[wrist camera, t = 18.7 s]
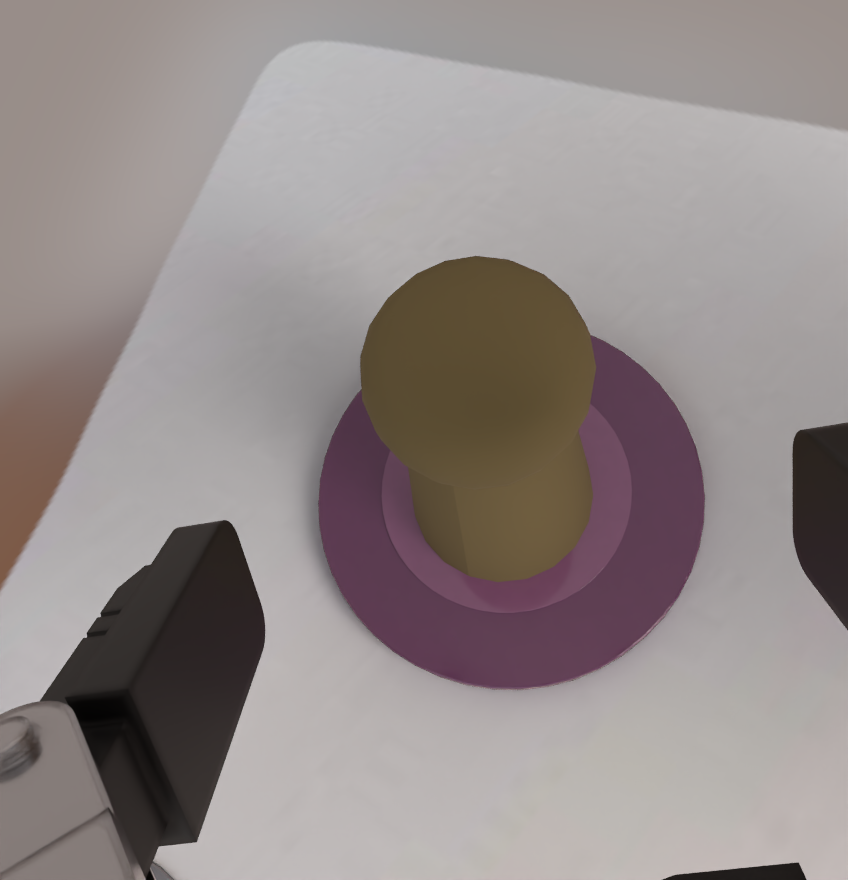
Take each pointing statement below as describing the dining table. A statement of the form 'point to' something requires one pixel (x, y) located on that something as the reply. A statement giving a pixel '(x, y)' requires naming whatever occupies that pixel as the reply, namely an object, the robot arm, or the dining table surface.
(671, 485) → the saucer
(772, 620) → the dining table surface
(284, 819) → the dining table surface
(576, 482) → the cork
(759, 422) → the dining table surface
